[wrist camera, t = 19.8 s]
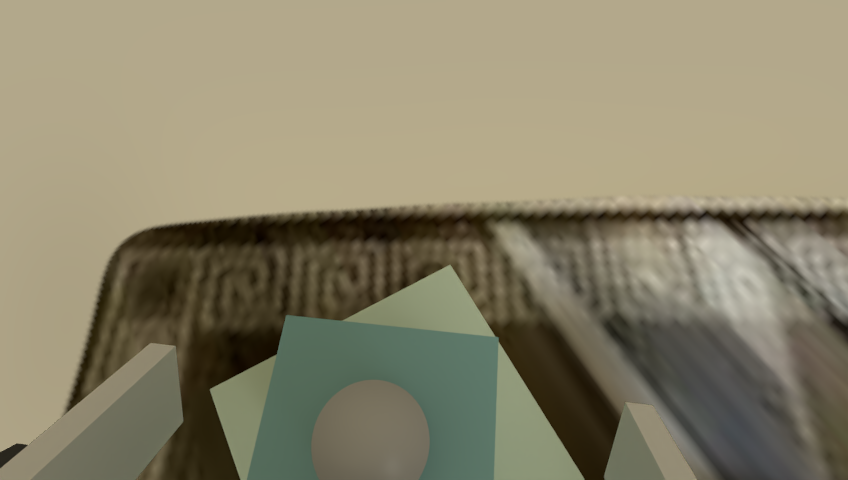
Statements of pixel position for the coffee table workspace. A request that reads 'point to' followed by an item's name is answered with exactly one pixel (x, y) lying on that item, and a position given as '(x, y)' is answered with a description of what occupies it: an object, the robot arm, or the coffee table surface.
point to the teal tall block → (378, 404)
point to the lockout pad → (430, 310)
